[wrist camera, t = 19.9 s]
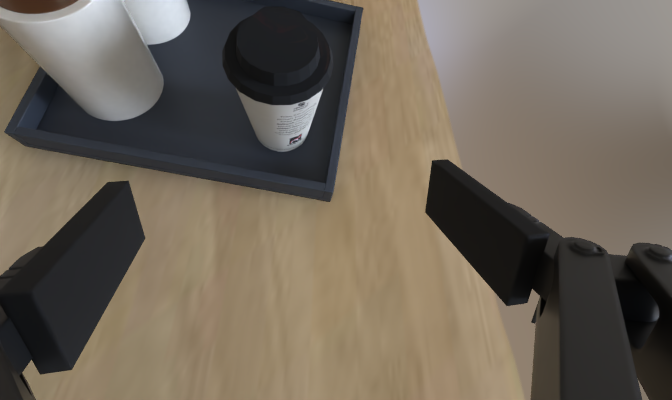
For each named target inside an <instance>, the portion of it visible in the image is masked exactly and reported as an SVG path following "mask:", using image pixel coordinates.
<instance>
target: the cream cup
mask: <svg viewBox="0 0 672 400" xmlns="http://www.w3.org/2000/svg"><path fill="white" fill-rule="evenodd" d="M0 27H1V28H2V29H3V30H4V31H5V32H6V33H7V34H8V35H9V36H10V37H11V38H12V39H13V40H14V41H15V42H16V43H17V44H18V45H19V46H20V47H21V48H22V49H23V50H24V51H25V52H26V53H27V54H28V55H29V56H30V57H31V58H32V59H33V60H34V61H35V62H36V63H37V64H38V65H39V66H40V67H41V68H42V69H43V70H44V71H45V72H46V73H47V74H48V75H49V76H50V77H51V78H52V79H53V80H54V81H55V82H56V83H57V84H58V85H59V86H60V87H61V88H62V89H63V90H64V91H65V92H66V93H67V94H68V95H69V96H70V97H71V98H72V99H73V100H74V101H75V102H76V103H77V104H78V105H79V106H80V107H81V108H82V109H83V110H84V111H85V112H86V113H88V114H89V115H91V116H93V117H96V118H98V119H102V120H108V121H122V120H128V119H131V118H135V117H137V116H139V115H141V114H143V113H145V112H146V111H148V110H149V109H150V108H151V107H153V106H154V104H155V103H156V102H157V101H158V99H159V98H160V96H161V94H162V90H163V85H164V82H163V75H162V73H161V70H160V68H159V66H158V64H157V63H156V61H155V59H154V57H153V55H152V53H151V51H150V49H149V47H148V45H147V43H146V41H145V40H144V38H143V36H142V34H141V32H140V30H139V28H138V26H137V24H136V22H135V20H134V18H133V17H132V15H131V13H130V11H129V9H128V7H127V5H126V3H125V1H124V0H0Z"/></svg>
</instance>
